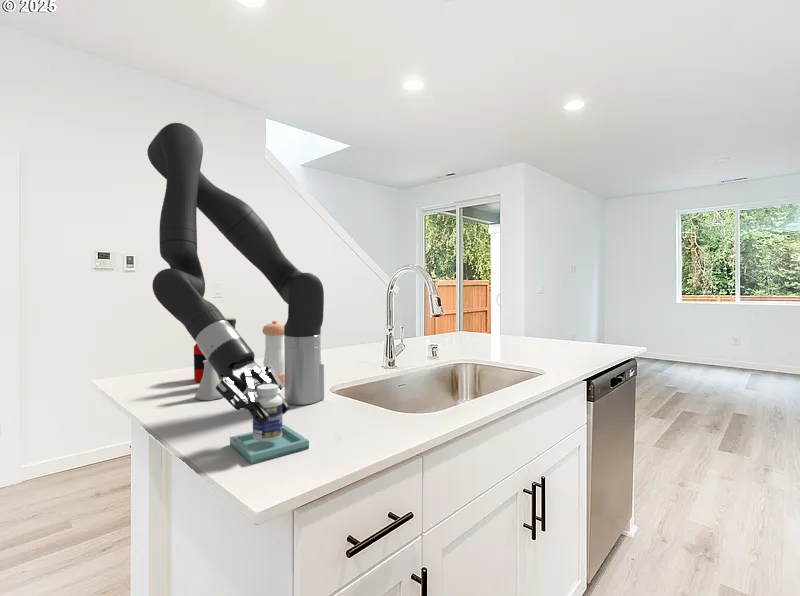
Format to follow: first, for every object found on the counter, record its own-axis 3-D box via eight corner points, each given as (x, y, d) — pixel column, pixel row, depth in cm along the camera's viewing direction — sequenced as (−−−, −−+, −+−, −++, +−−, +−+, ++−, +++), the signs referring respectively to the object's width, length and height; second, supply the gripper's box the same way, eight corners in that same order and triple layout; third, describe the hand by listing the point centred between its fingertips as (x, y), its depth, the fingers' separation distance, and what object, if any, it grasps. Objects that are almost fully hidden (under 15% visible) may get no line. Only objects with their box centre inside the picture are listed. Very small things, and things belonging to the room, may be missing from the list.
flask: (231, 395, 117) (230, 359, 116) (209, 402, 110) (208, 364, 110) (211, 392, 120) (211, 356, 119) (189, 399, 113) (188, 361, 113)
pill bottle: (266, 444, 78) (265, 391, 77) (246, 438, 81) (246, 387, 80) (288, 435, 82) (288, 385, 82) (269, 430, 85) (269, 381, 85)
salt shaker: (284, 387, 125) (283, 322, 124) (259, 387, 125) (258, 322, 124) (290, 381, 132) (290, 319, 131) (267, 381, 132) (266, 319, 131)
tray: (284, 431, 89) (284, 424, 89) (309, 448, 81) (308, 440, 81) (230, 444, 83) (230, 437, 82) (251, 464, 74) (250, 455, 74)
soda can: (204, 383, 129) (203, 344, 129) (189, 380, 133) (188, 342, 132) (226, 378, 136) (225, 341, 135) (210, 375, 139) (210, 339, 139)
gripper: (206, 341, 77) (262, 415, 73) (260, 331, 90) (309, 394, 86) (184, 368, 79) (237, 442, 75) (240, 355, 92) (287, 417, 89)
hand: (275, 416), depth 81 cm, fingers closed on pill bottle, 5 cm apart
